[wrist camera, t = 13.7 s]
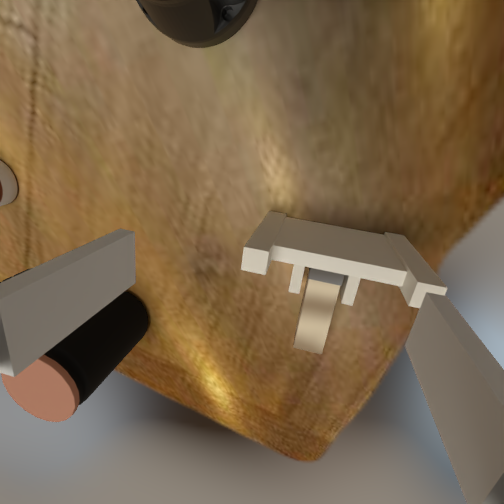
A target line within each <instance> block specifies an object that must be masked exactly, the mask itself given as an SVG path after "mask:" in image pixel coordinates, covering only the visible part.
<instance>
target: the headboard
mask: <svg viewBox="0 0 504 504" xmlns="http://www.w3.org/2000/svg"><path fill="white" fill-rule="evenodd" d="M286 216H287V214H284V213H279V212H273V211H269V213H268V214H267V215H266V217H265V218H264V220H263V221H262V222H261V224H260V225H259V226H258V228H257V229H256V231H255V232H254V233H253V235H252V236H251V238H250V239H249V240H248V242H247V243H246V245H245V246H244V251H243V258H242V266H241V270H244V271H249V272H254V273H258V274H263V275H266V272H267V270H268V267H269V265H270V263H271V260H276V261H280V262H285V263H290V264H294V267H293V272H292V277H291V282H290V287H289V292H292V293H297V294H299V292H300V287H301V282H302V278H303V273H304V269H305V267H309V268H314V269H319V270H324V271H329V272H334V273H339V274H343V275H344V279H343V282H342V286H340V296H341V303H342V304H347V305H351V306H352V305H353V302H354V299H355V295H356V292H357V289H358V285H359V282H360V279H361V278H363V279H368V280H372V281H377V282H382V283H387V284H392V285H397V286H399V288H400V290H401V292H402V294H403V296H404V298H405V300H406V302H407V304H408V306H412V307H416V308H420V307H421V304H422V302H423V299H424V297H425V294H426V292H429V293H434V294H438V295H443V296H444V295H445V293H446V291H447V287H446V285H445V284H444V283H443V282H442V281H441V279H440V278H439V277H438V276H437V275H436V273H435V272H434V271H433V270H432V269H431V267H430V266H429V265H428V264H427V263H426V261H425V260H424V259H423V258H422V256H421V255H420V254H419V253H418V252H417V250H416V249H415V248H414V247H413V246H412V244H411V243H410V242H409V241H408V240H407V238H406V237H405V236H404V235H399V234H394V233H388V232H385V233H384V235H383V234H377V233H372V232H366V231H361V230H355V229H350V228H345V227H339V226H334V225H328V224H323V223H317V222H312V221H306V220H301V219H296V218H290V217H286Z"/></svg>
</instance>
